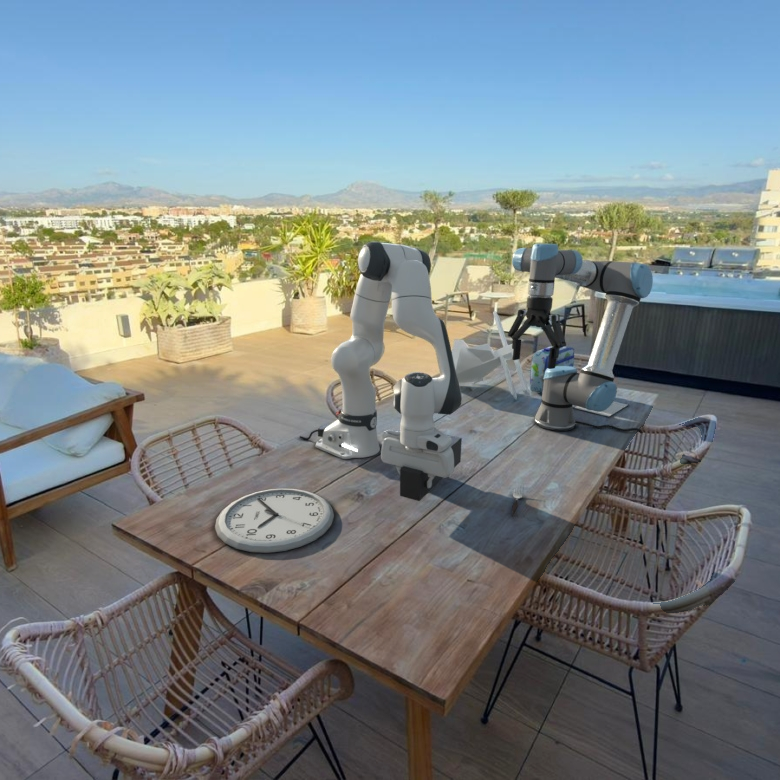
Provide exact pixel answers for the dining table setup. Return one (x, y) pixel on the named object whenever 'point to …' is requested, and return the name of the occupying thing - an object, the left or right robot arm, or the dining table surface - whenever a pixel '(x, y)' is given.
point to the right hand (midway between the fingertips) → (533, 363)
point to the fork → (517, 496)
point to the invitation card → (609, 411)
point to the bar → (424, 476)
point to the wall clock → (274, 520)
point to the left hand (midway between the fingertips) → (415, 483)
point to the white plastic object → (485, 361)
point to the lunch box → (541, 364)
